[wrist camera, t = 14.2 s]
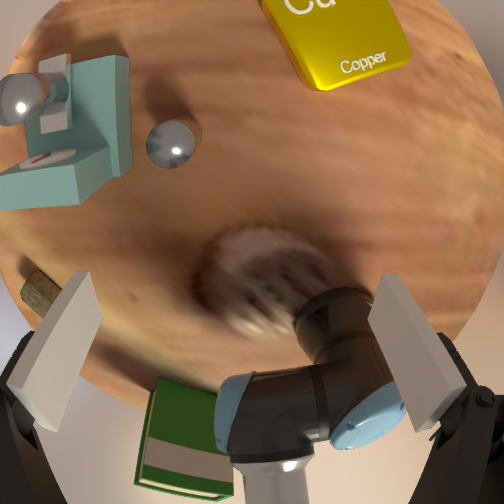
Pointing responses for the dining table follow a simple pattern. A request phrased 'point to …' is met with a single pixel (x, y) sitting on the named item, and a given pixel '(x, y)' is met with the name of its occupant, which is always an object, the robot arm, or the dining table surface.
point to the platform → (64, 116)
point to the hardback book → (182, 445)
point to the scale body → (76, 142)
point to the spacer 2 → (173, 141)
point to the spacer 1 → (31, 96)
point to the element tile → (338, 39)
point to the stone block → (39, 293)
